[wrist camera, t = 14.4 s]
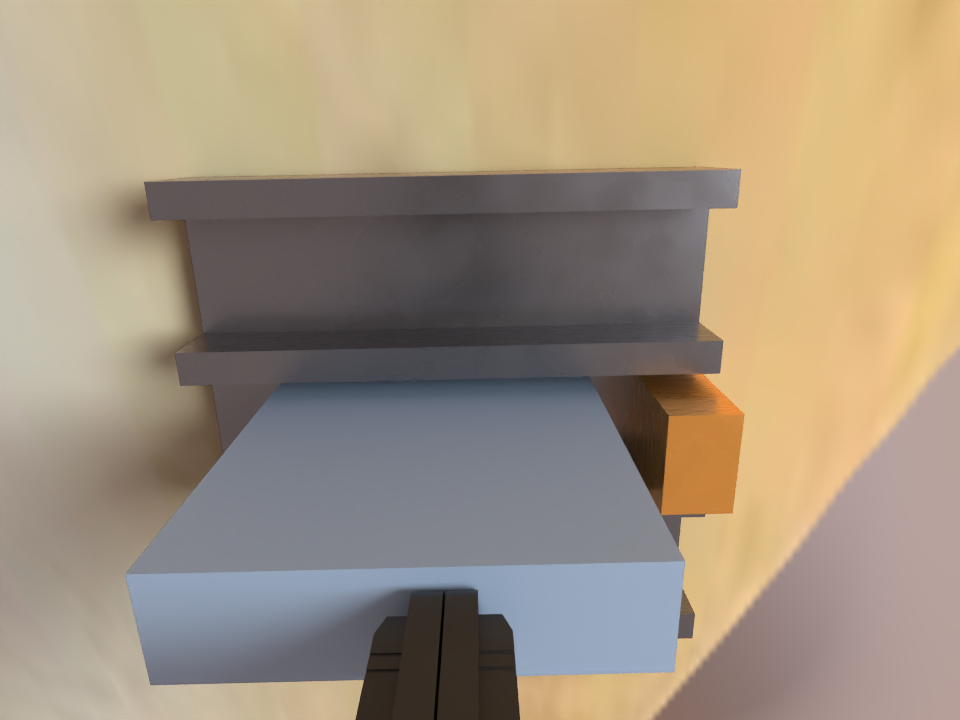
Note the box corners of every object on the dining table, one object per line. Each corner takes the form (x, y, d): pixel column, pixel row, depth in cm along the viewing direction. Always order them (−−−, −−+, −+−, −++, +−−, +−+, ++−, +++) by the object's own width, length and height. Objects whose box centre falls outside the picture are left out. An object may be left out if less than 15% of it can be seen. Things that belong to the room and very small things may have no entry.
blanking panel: (291, 449, 26) (150, 685, 15) (282, 380, 25) (124, 574, 14) (585, 443, 26) (674, 672, 15) (587, 373, 25) (685, 561, 14)
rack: (255, 593, 29) (202, 700, 24) (190, 177, 24) (100, 186, 18) (667, 582, 29) (714, 687, 24) (703, 166, 24) (777, 171, 18)
